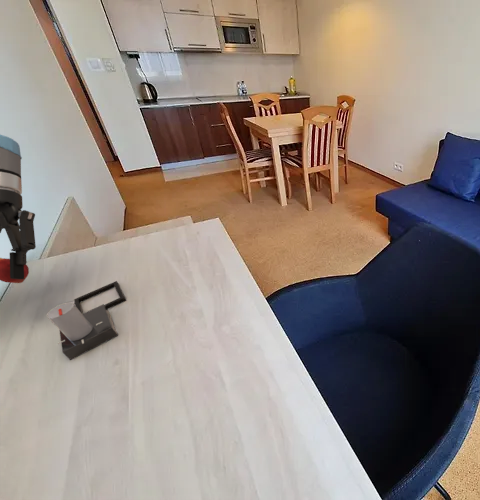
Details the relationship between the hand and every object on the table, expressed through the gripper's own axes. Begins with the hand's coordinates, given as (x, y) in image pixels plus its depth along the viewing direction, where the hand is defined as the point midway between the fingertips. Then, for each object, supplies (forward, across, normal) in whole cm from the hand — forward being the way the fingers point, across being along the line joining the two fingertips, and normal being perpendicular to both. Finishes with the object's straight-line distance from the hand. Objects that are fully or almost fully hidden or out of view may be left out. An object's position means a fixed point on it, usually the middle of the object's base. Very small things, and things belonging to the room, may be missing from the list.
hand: (2, 281), depth 74 cm
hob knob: (+16, -16, -1) cm, 23 cm away
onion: (0, 0, -5) cm, 5 cm away
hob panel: (+17, -16, -4) cm, 24 cm away
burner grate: (+7, -13, -14) cm, 20 cm away
